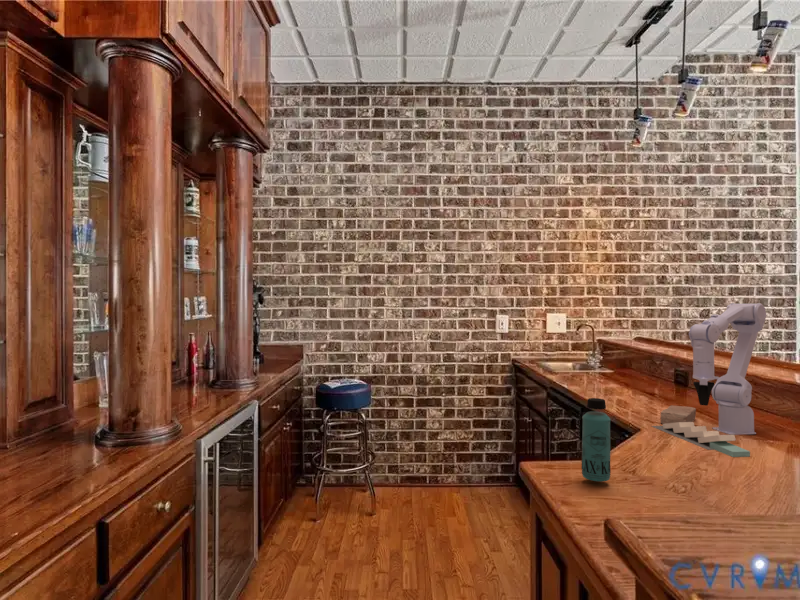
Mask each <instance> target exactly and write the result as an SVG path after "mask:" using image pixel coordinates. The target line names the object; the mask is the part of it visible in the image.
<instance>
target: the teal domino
mask: <svg viewBox="0 0 800 600" xmlns="http://www.w3.org/2000/svg"><path fill="white" fill-rule="evenodd" d="M710 448H712V449H715V450H714V451H716V452H719V453H721V454H724V455H726V456H729V457H732V458H745V457H746V458H748V457H751V451H750V450H747V449H745V448H742V447H740V446H738V445H735V444H733V443H730V442H729V441H725V442H710Z"/></svg>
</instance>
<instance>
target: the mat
mask: <svg viewBox="0 0 800 600" xmlns="http://www.w3.org/2000/svg"><path fill="white" fill-rule="evenodd" d="M650 427H652V428H654V429H656V430H660V431H661V432H664V433H666V434H668V435H671V436H674V437H675V438H678V439H680V440H683V441H686V442H688V443H690V444H693V445H695V446H697V447H700V448H703V449H705V450H707V451H716V450H715V449H712V448H710V443H699V442H698V437H687V438H685V435H684V433H674V431H673V429H663V425H650Z"/></svg>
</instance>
